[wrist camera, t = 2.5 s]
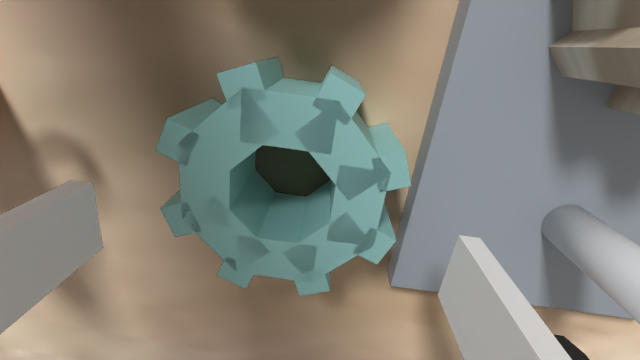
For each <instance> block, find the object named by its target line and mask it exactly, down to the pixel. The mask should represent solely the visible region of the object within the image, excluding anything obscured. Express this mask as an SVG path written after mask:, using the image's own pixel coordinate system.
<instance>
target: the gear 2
mask: <svg viewBox="0 0 640 360" xmlns="http://www.w3.org/2000/svg"><path fill="white" fill-rule="evenodd" d="M549 49H550V51H551V53H552V55H553V58H554V60H555V62H556V64H557V66H558V68H559V70H560V73H561V75H562V76H564V77H571V78H578V79H585V80H592V81H599V82H606V83H613V84H617V85H616V87H615V89H614V91H613V93H612V95H611V97H610V99H609V101H608V104H607V106H606V107H607V108H612V109H616V110H620V111H624V112H629V113H633V114H637V115H640V0H573V23H572V31H571V32H570V33H568V34H567V35H565V36H564V37H562V38H561V39H559V40H558V41H556V42H555V43H553V44H552V45H550V46H549Z"/></svg>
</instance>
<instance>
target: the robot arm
mask: <svg viewBox="0 0 640 360" xmlns="http://www.w3.org/2000/svg"><path fill="white" fill-rule="evenodd" d="M102 248H103V244H102V237H101V231H100V225H99V219H98V212H97V206H96V200H95V193H94V187H93V183H89V182H82V181H75V180H71V181H68V182H66V183H64V184H62V185H60V186H58V187H56V188H54V189H52V190H50V191H48V192H46V193H44V194H42V195H40V196H38V197H36V198H34V199H32V200H30V201H27V202H25V203H23V204H21V205H19V206H17V207H15V208H13V209H11V210H9V211H7V212H5V213H3V214H1V215H0V334H1V333H2V332H4V331H5V330H6V329H7V328H8V327H10V326H11V325H12V324H13V323H14V322H15V321H17V320H18V319H19V318H20V317H21V316H23V315H24V314H25V313H26V312H27V311H29V310H30V309H31V308H32V307H33V306H34V305H36V304H37V303H38V302H39V301H40V300H42V299H43V298H44V297H45V296H46V295H48V294H49V293H50V292H51V291H52V290H53V289H55V288H56V287H57V286H58V285H59V284H61V283H62V282H63V281H64V280H65V279H67V278H68V277H69V276H70V275H71V274H73V273H74V272H75V271H76V270H77V269H78V268H80V267H81V266H82V265H83V264H84V263H86V262H87V261H88V260H89V259H90V258H92V257H93V256H94V255H95V254H96V253H97V252H99V251H100V250H101V249H102ZM438 297H439V300H440V302H441V305H442V307H443V309H444V312H445V314H446V317H447V319H448V322H449V324H450V327H451V329H452V332H453V334H454V337H455V339H456V342H457V344H458V346H459V349H460V351H461V354H462V356H463V359H464V360H589V358H588V357H587V356H586V355H585V354H584V353H583V352H582V351H581V350H579V349H578V348H577V347H576V346H575V345H574V344H572V343H571V342H570V341H569V340H568V339H566V338H565V337H564V336H560V335H553V334H552V333H551V331H550V330H549V329H548V327H547V326H546V325H545V323H544V322H543V321H542V319H541V318H540V317H539V315H538V314H537V313H536V311H535V310H534V309H533V307H532V306H531V305H530V303H529V302H528V301H527V299H526V298H525V297H524V295H523V294H522V293H521V291H520V290H519V289H518V287H517V286H516V285H515V283H514V282H513V281H512V280H511V278H510V277H509V276H508V274H507V273H506V272H505V270H504V269H503V268H502V266H501V265H500V264H499V262H498V261H497V260H496V258H495V257H494V256H493V254H492V253H491V252H490V250H489V249H488V248H487V246H486V245H485V244H484V242H483V241H482V240H481V238H477V237H469V236H462V235H459V236H458V239H457V242H456V244H455V247H454V250H453V253H452V256H451V259H450V262H449V264H448V267H447V270H446V273H445V276H444V279H443V281H442V284H441V287H440V290H439V293H438Z"/></svg>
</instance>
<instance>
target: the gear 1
mask: <svg viewBox="0 0 640 360" xmlns="http://www.w3.org/2000/svg"><path fill="white" fill-rule="evenodd" d="M217 77H218V80H219V82H220V85H221V88H222V90H223V93H224V96H225V98H226V102H225V103H224V104H221V103H219V102H218V101H216V100H214V99H209V100H207V101H205V102H203V103H200V104H198V105H196V106H193V107H191V108H189V109H187V110H184V111H182V112H180V113H178V114H175V115H173V116H171V117H168V118H167V121H166V123H165V126H164V129H163V131H162V134H161V137H160V139H159V142H158V145H157V147H156V151H157V152H159V153H161V154H163V155H165V156H167V157H169V158H171V159H173V160H175V161H177V162H179V176H180V190H179V191H178V192H177V193H176V194H175V195H174V196H173V197H172V198H171V199H170V200H168V201H167V202H166V203H165V204H164V205H163V206H162V207H161V208H160V209H161V211H162V213H163V215H164V217H165V219H166V221H167V223H168V224H169V226H170V228H171V230H172V232H173V234H174V236H175V237H178V236H183V235H187V234H192V233H196V234H197V235H198V236H199V237H200V238H201V239H202V240H203V241H204V242H205V243H206V244H208V245H209V246H210V247H211V248H212V249H213V250H214V251H215V252H216V253H217V254H218V255H219V256H220V257H221V258H222V259H223V260H224V262H223V264H222V266H221V268H220V270H219V272H218V274H217V275H216V276H219V277H221V278H223V279H225V280H227V281H229V282H231V283H234V284H236V285H238V286H240V287H242V288H244V289H245V288H246V287H247V285H248V284H249V282H250V280H251V279H252V277H253V276H254V275H259V276H266V277H274V278H281V279H289V280H294V282H295V285H296V288H297V290H298V293H299V296H304V295H310V294H315V293H321V292H327V291H330V273H331V271H332V270H333V269H335V268H337V267H338V266H340V265H342V264H344V263H345V262H347V261H349V260H350V259H352V258H354V257H356V256H357V255H359V256H361V257H363V258H365V259H367V260H369V261H371V262H373V263H375V264H378V263H379V261H380V260H381V259H382V258H383V257H384V255H385V254H386V253H387V252H388V250H389V249H390V248H391V247H392V246H393V244H394V243H395V242H396V238H395V234H394V231H393V228H392V224H391V221H390V218H389V215H388V211H387V208H386V205H385V202H384V200H385V196H386V192H387V191H390V190H395V189H399V188H404V187H409V186H411V181H410V175H409V169H408V164H407V158H406V152H405V150H404V148H403V147H402V145H401V144H400V142H399V141H398V139H397V137H396V136H395V134H394V133H393V131H392V130H391V128H390V127H389V125H388V123H385V124H381V125H377V126H373V127H369V128H368V127H367V125H366V124H365V122H364V121H363V120H362V118H361V117H360V115H359V114H358V113H357V111H356V110H357V109H358V107H359V106H360V104H361V102H362V101H363V99H364V98H365V96H366V94H365V92H364V90H363V88H362V87H361V85H360V83H359V82H358V80H356V79H354V78H353V77H351V76H349V75H348V74H346V73H345V72H343V71H341V70H340V69H338V68H337V67H335V66H333V65H331V67H330V69H329V71H328V72H327V74H326V76H325V78H324V80H323V81H322V83H319V82H311V81H304V80H297V79H290V78H284V75H283V72H282V68H281V65H280V61H279V58H278V57H276V58H271V59H267V60H263V61H258V62H254V63H251V64H247V65H244V66H241V67H237V68H234V69H230V70H227V71H224V72H220V73H217ZM262 145H266V146H274V147H281V148H288V149H295V150H302V151H309V153H310V154H311V155H312V156H313V158H314V159H315V160H316V161H317V163H318V164H319V165H320V166H321V168H322V169H323V170H324V171H325V172H326V174H327V175H328V176H329V177H330V179H331V180H330V181H328V182H327V183H326V184H324V185H323V186H321V187H320V188H318V189H317V190H315V191H314V192H312V193H311V194H309V195H308V196H299V195H292V194H284V193H277V192H275V191H274V190H273V189H272V188H271V186H270V185H269V184H268V183H267V182H266V181H265V180H264V179H263V177H262V176H261V175H260V174H259V173H258V172H257V171H256V170H255V161H256V150H257V149H258V148H259V147H261V146H262Z"/></svg>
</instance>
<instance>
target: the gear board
mask: <svg viewBox="0 0 640 360" xmlns="http://www.w3.org/2000/svg"><path fill="white" fill-rule="evenodd" d="M572 23H573V0H460V1H459V5H458V9H457V12H456V16H455V20H454V24H453V27H452V31H451V35H450V38H449V42H448V46H447V50H446V53H445V57H444V61H443V64H442V68H441V72H440V76H439V79H438V83H437V87H436V90H435V94H434V98H433V102H432V105H431V109H430V113H429V117H428V120H427V124H426V128H425V131H424V135H423V139H422V143H421V146H420V150H419V154H418V157H417V161H416V165H415V169H414V172H413V176H412V180H411V186H410V187H409V191H408V195H407V198H406V202H405V206H404V210H403V213H402V217H401V221H400V224H399V228H398V232H397V236H396V242H395V243H394V247H393V250H392V254H391V258H390V262H389V265H388V269H387V272H388V276H389V281H390V285H391V286H395V287H402V288H409V289H417V290H424V291H431V292H439V290H440V287H441V284H442V281H443V279H444V276H445V273H446V270H447V267H448V264H449V262H450V259H451V256H452V253H453V250H454V247H455V244H456V242H457V239H458V236H459V235H462V236H469V237H477V238H481V240H482V241H483V242H484V244H485V245H486V246H487V248H488V249H489V250H490V252H491V253H492V254H493V256H494V257H495V258H496V260H497V261H498V262H499V264H500V265H501V266H502V268H503V269H504V270H505V272H506V273H507V274H508V276H509V277H510V278H511V280H512V281H513V282H514V283H515V285H516V286H517V287H518V289H519V290H520V291H521V293H522V294H523V295H524V297H525V298H526V299H527V301H528V302H529V303H530V305H534V306H542V307H549V308H557V309H564V310H571V311H579V312H586V313H593V314H601V315H608V316H615V317H623V318H630V319H635V320H636V321H637V322H638V323H639V324H640V115H637V114H633V113H629V112H624V111H620V110H616V109H612V108H607V107H606V106H607V104H608V101H609V99H610V97H611V95H612V93H613V91H614V89H615V87H616V85H617V84H613V83H606V82H599V81H592V80H585V79H578V78H571V77H564V76H562V75H561V73H560V70H559V68H558V66H557V64H556V62H555V60H554V58H553V55H552V53H551V51H550V49H549V46H550V45H552V44H553V43H555V42H556V41H558V40H559V39H561V38H562V37H564V36H565V35H567V34H568V33H570V32H571V31H572Z"/></svg>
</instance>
